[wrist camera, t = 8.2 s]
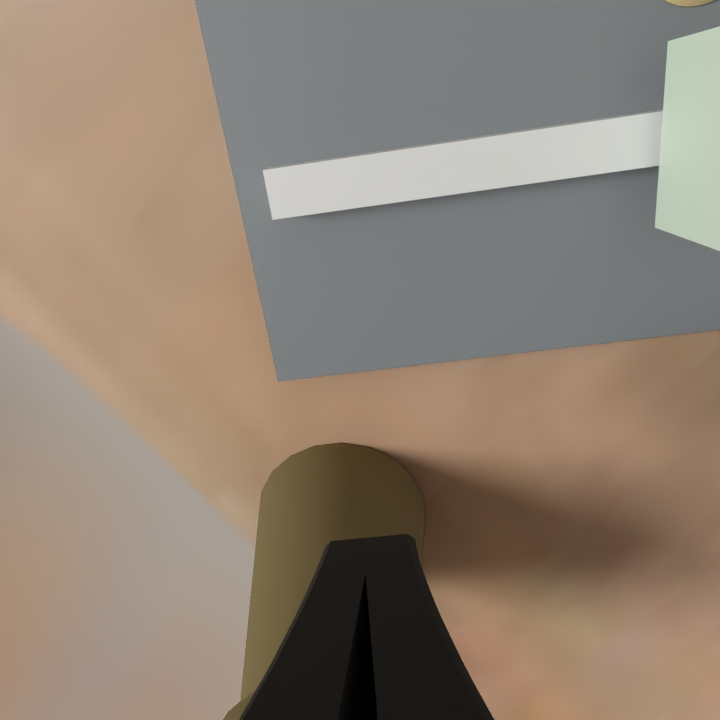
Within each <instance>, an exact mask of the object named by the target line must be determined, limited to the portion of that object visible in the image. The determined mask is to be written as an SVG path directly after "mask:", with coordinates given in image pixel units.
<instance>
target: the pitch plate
mask: <svg viewBox="0 0 720 720" xmlns="http://www.w3.org/2000/svg"><path fill="white" fill-rule="evenodd" d="M195 4H196V8H197V13H198V17H199V22H200V27H201V31H202V36H203V40H204V45H205V49H206V54H207V59H208V63H209V68H210V72H211V77H212V81H213V86H214V91H215V95H216V100H217V104H218V109H219V113H220V118H221V123H222V127H223V132H224V136H225V141H226V145H227V150H228V155H229V159H230V164H231V168H232V173H233V177H234V182H235V187H236V191H237V196H238V200H239V205H240V209H241V214H242V219H243V223H244V228H245V232H246V237H247V241H248V246H249V251H250V255H251V260H252V264H253V269H254V273H255V278H256V283H257V287H258V292H259V296H260V301H261V305H262V310H263V315H264V319H265V324H266V328H267V333H268V337H269V342H270V347H271V351H272V356H273V360H274V365H275V369H276V374H277V379H278V381H287V380H295V379H304V378H312V377H321V376H329V375H338V374H346V373H355V372H364V371H372V370H381V369H389V368H398V367H406V366H415V365H423V364H432V363H440V362H449V361H457V360H466V359H474V358H483V357H491V356H500V355H509V354H517V353H526V352H534V351H543V350H551V349H560V348H568V347H577V346H585V345H594V344H602V343H611V342H619V341H628V340H636V339H645V338H654V337H662V336H671V335H679V334H688V333H696V332H705V331H713V330H720V251H718V250H715V249H712V248H710V247H707V246H704V245H701V244H699V243H696V242H693V241H690V240H688V239H685V238H682V237H679V236H677V235H674V234H671V233H669V232H666V231H663V230H660V229H658V228H655V217H656V203H657V188H658V174H659V160H660V146H661V131H662V117H663V103H664V88H665V74H666V60H667V46H668V41H670V40H674V39H677V38H681V37H684V36H688V35H691V34H695V33H698V32H702V31H705V30H709V29H712V28H716V27H719V26H720V0H195Z"/></svg>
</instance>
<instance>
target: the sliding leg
mask: <svg viewBox="0 0 720 720" xmlns="http://www.w3.org/2000/svg"><path fill="white" fill-rule="evenodd" d="M655 228H658V229H660V230H663V231H666V232H669V233H671V234H674V235H677V236H679V237H682V238H685V239H688V240H690V241H693V242H696V243H699V244H701V245H704V246H707V247H710V248H712V249H715V250H718V251H720V26H719V27H716V28H712V29H709V30H705V31H702V32H698V33H695V34H691V35H688V36H684V37H681V38H677V39H674V40H670V41H668V46H667V60H666V74H665V88H664V103H663V117H662V131H661V146H660V160H659V174H658V188H657V203H656V217H655Z"/></svg>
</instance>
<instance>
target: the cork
mask: <svg viewBox="0 0 720 720" xmlns="http://www.w3.org/2000/svg"><path fill="white" fill-rule="evenodd" d="M424 529H425V510H424V502H423V495H422V493H421V491H420V489H419V487H418V486H417V484H416V482H415V480H414V478H413V476H412V475H411V474H410V473H409V472H408V471H407V470H406V469H405V468H403V467H402V466H401V465H400V464H399V463H398V462H397V461H396V460H395V459H393V458H392V457H389V456H387V455H385V454H383V453H381V452H379V451H376V450H374V449H372V448H370V447H365V446H359V445H353V444H346V443H335V444H327V445H318V446H313V447H311V448H308V449H306V450H304V451H301V452H299V453H296V454H294V455H292V456H290V457H289V458H288V459H286V460H285V461H284V462H283V463H282V464H281V465H280V466H278V467H277V468H276V469H275V470H274V471H273V472H272V473H271V475H270V477H269V479H268V481H267V482H266V484H265V486H264V488H263V490H262V492H261V501H260V509H259V519H258V529H257V539H256V549H255V559H254V570H253V579H252V589H251V600H250V610H249V619H248V631H247V640H246V650H245V660H244V671H243V680H242V690H241V700H240V702H239V703H238V704H237V705H236V706H235V707H233V708H232V709H231V710H230V711H229V712H228V713H227V715H226V716H225V718H224V719H223V720H239V719H240V717H241V715H242V713H243V712H244V710H245V708H246V706H247V705H248V703H249V701H250V700H251V698H252V696H253V694H254V693H255V691H256V689H257V687H258V686H259V684H260V682H261V681H262V679H263V677H264V675H265V674H266V672H267V670H268V668H269V666H270V664H271V663H272V661H273V659H274V657H275V655H276V653H277V651H278V649H279V647H280V645H281V643H282V641H283V639H284V637H285V635H286V633H287V631H288V629H289V627H290V625H291V624H292V622H293V620H294V618H295V616H296V613H297V611H298V609H299V607H300V605H301V603H302V601H303V599H304V596H305V594H306V592H307V590H308V588H309V585H310V583H311V581H312V579H313V576H314V574H315V571H316V569H317V567H318V564H319V562H320V559H321V556H322V554H323V551H324V548H325V547H326V546H327V545H328V543H329V542H330V541H336V540H347V539H357V538H368V537H379V536H389V535H400V534H409V535H410V536H412V537H413V538H414V539H415V540H416V547H417V552H418V556H419V560H420V563H421V566H422V559H423V544H424Z"/></svg>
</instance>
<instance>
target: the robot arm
mask: <svg viewBox="0 0 720 720" xmlns="http://www.w3.org/2000/svg"><path fill="white" fill-rule="evenodd" d="M239 720H494V718H493V717H492V715H491V713H490V711H489V710H488V708H487V706H486V704H485V702H484V701H483V699H482V697H481V695H480V693H479V692H478V690H477V688H476V686H475V684H474V683H473V681H472V679H471V677H470V675H469V673H468V671H467V669H466V667H465V665H464V663H463V662H462V660H461V657H460V655H459V653H458V651H457V649H456V647H455V645H454V643H453V641H452V639H451V637H450V635H449V633H448V631H447V628H446V626H445V624H444V622H443V620H442V618H441V616H440V613H439V611H438V609H437V606H436V604H435V602H434V599H433V597H432V594H431V592H430V589H429V586H428V584H427V581H426V578H425V576H424V573H423V570H422V566H421V563H420V560H419V556H418V552H417V547H416V540H415V539H414V538H413V537H412V536H410V535H409V534H400V535H389V536H379V537H368V538H357V539H347V540H336V541H330V542H329V543H328V545H327V546H326V547H325V548H324V551H323V554H322V556H321V559H320V562H319V564H318V567H317V569H316V571H315V574H314V576H313V579H312V581H311V583H310V585H309V588H308V590H307V592H306V594H305V596H304V599H303V601H302V603H301V605H300V607H299V609H298V611H297V613H296V616H295V618H294V620H293V622H292V624H291V625H290V627H289V629H288V631H287V633H286V635H285V637H284V639H283V641H282V643H281V645H280V647H279V649H278V651H277V653H276V655H275V657H274V659H273V661H272V663H271V664H270V666H269V668H268V670H267V672H266V674H265V675H264V677H263V679H262V681H261V682H260V684H259V686H258V687H257V689H256V691H255V693H254V694H253V696H252V698H251V700H250V701H249V703H248V705H247V706H246V708H245V710H244V712H243V713H242V715H241V717H240V719H239Z"/></svg>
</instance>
